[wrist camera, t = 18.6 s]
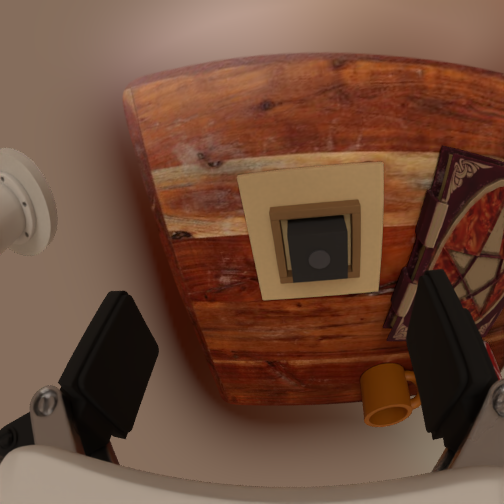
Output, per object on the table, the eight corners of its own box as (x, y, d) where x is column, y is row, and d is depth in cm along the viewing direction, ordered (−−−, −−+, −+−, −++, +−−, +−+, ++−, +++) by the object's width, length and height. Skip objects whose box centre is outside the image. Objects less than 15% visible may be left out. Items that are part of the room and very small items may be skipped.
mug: (412, 384, 55) (420, 421, 48) (357, 389, 57) (360, 429, 50) (424, 358, 50) (435, 399, 43) (363, 364, 52) (368, 408, 45)
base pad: (263, 296, 45) (261, 308, 43) (237, 174, 35) (234, 182, 33) (377, 287, 42) (380, 298, 40) (381, 161, 32) (387, 168, 30)
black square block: (293, 264, 40) (293, 284, 37) (287, 219, 37) (287, 237, 33) (344, 260, 39) (348, 280, 36) (343, 214, 35) (348, 232, 32)
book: (480, 323, 45) (490, 344, 41) (377, 325, 46) (384, 350, 42) (547, 176, 29) (568, 192, 24) (435, 142, 30) (455, 157, 25)
